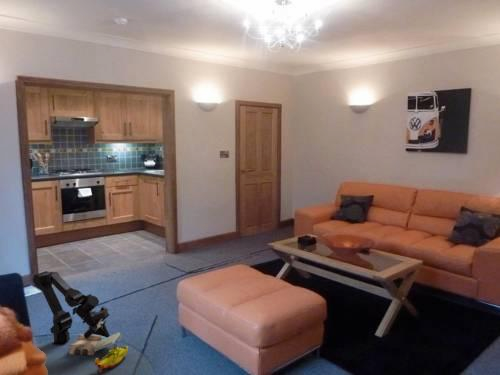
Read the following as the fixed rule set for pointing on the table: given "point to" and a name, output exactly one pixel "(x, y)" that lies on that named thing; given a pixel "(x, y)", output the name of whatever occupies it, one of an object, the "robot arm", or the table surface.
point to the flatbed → (85, 345)
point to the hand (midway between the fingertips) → (108, 336)
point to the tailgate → (108, 341)
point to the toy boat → (111, 358)
